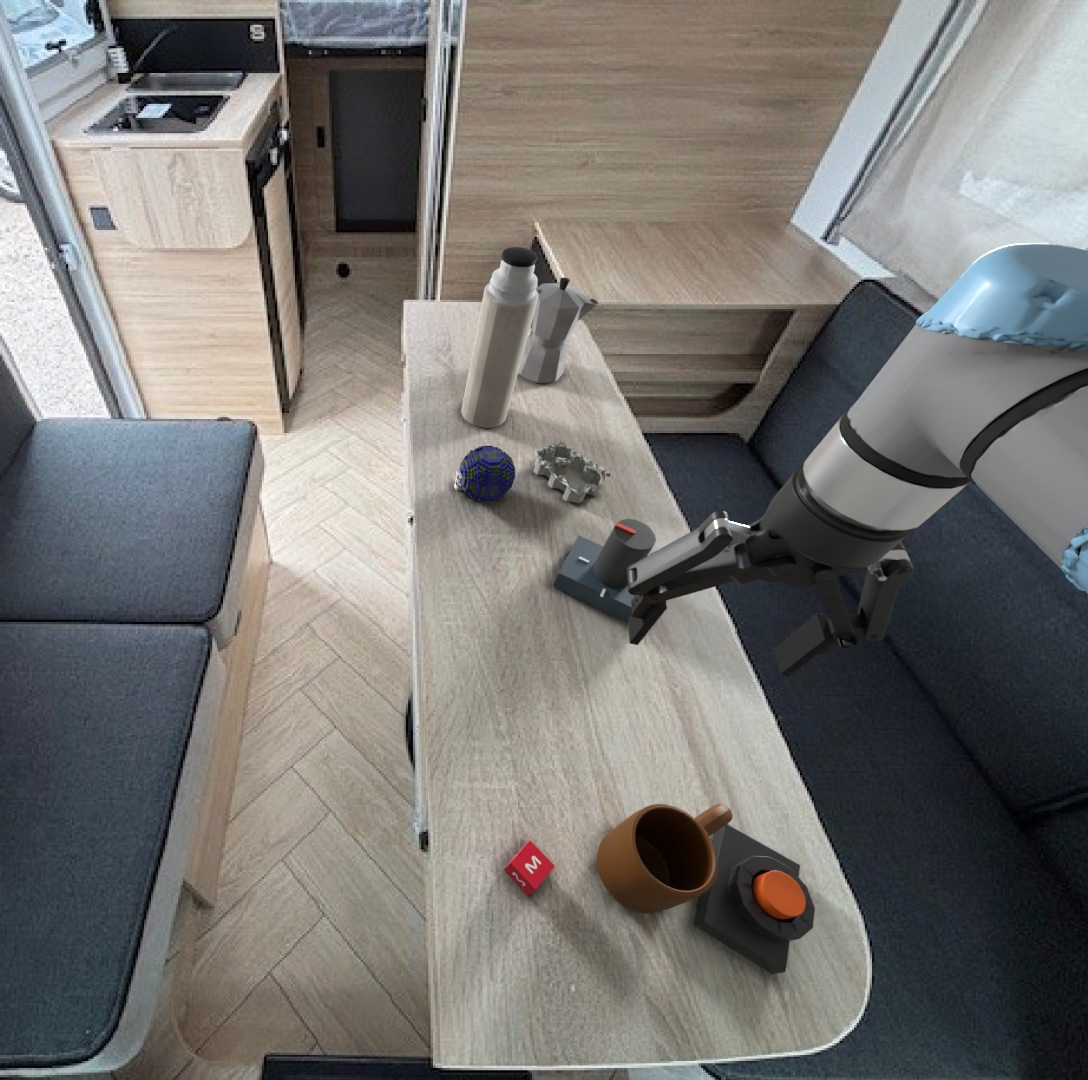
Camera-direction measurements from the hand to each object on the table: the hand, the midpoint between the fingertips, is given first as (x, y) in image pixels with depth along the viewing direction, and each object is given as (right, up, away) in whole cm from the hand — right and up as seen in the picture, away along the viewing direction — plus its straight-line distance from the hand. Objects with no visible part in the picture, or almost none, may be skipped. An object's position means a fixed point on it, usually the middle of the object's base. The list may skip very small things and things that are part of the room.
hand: (705, 647), depth 56 cm
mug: (-4, -22, +3) cm, 22 cm away
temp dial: (0, +6, +22) cm, 23 cm away
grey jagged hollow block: (-1, +20, +38) cm, 43 cm away
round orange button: (+5, -23, -2) cm, 23 cm away
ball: (-14, +18, +36) cm, 42 cm away
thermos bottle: (-12, +33, +48) cm, 59 cm away
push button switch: (+4, -24, +1) cm, 25 cm away
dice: (-17, -23, +2) cm, 28 cm away
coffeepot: (0, +43, +58) cm, 72 cm away
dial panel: (0, +4, +25) cm, 25 cm away
